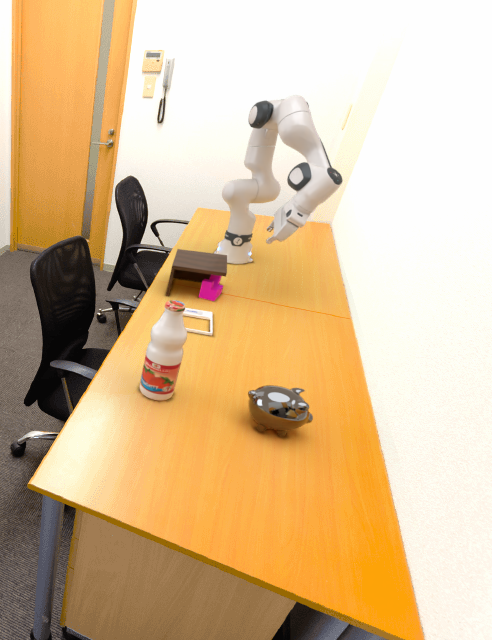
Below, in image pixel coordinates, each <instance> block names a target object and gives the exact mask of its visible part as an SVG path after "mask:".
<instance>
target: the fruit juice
mask: <svg viewBox="0 0 492 640" xmlns="http://www.w3.org/2000/svg"><path fill="white" fill-rule="evenodd" d="M185 308H186V304H185V303H184V302H182V301H180V300H175V299H172V300H171V299H170V300H167V301H166V302H165V304H164V311H163V313H162V314H161V316H160V317H159V319H158V320H157V321H156V322H155V323H154V324H153V325H152V328H151V329H150V341H149V342H148V344H147V347H146V351H145V356H144V360H143V366H142V371H141V376H140V381H139V391H140V393H141V394H142V395H143V396H144V397H146V398H148V399H151V400H153V401H154V400H155V401H167V400H169V399H171V398H172V396H173V395H174V393H175V388H176V385H177V382H178V376H179V374H180V369H181V365H182V361H183V357H184V345H185V344H186V341H187V339H188V331H187V330H186V328H187V327H186V326H185V321H184V315H183V312H184V310H185Z"/></svg>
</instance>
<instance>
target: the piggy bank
mask: <svg viewBox="0 0 492 640" xmlns="http://www.w3.org/2000/svg"><path fill="white" fill-rule="evenodd" d="M304 392H306V390H305V389H303V388H301V387H292V388H287V387H285V386H280V385H275V384H267V385H262V386H258V387H257V388H256V389H252V390H248V391H247V395H248V412H249V414H250V416H251V418H252V419H253V420H254V422H256V424H257V425H256V430H257V431H258V432H260V433H263V432H265V431H267V429H270V430H274V431H275V432H276V434H277V435H278V436H279V437H285V436H286V434H287V433H288V432H289V431H294V430H297V429H300V428H302V427H304V426H305V425H308V424H311V423H312V422H313V420H314V416H313V413H311V412H310V404H309V403H308V402H306V400H305V399H304V397H303V396H302V395H301V393H304Z"/></svg>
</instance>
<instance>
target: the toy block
mask: <svg viewBox="0 0 492 640" xmlns="http://www.w3.org/2000/svg"><path fill="white" fill-rule="evenodd" d="M221 280H222V277H221V276H218V275H211V276H210V279H209V280H208V279H204V280H203V281H202V282H201V285H200V290H199V292H198V293H199V294H198V299H199V298H200V299H202V300H203V299H204V300H208V301H211V302H215V301H216V300H217V299H218V298H219V297H220V295H221V294H222V292H223V289H224V284H221ZM219 283H220V284H219Z"/></svg>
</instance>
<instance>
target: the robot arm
mask: <svg viewBox="0 0 492 640" xmlns="http://www.w3.org/2000/svg"><path fill="white" fill-rule="evenodd" d="M310 109H311V108H310V105H309V103H308V101H306V99H305V98H304V97H303V95H298V94H295V95H294V94H293V95H289V96H288V97H286V98H281V99H272V100H261V101H258V102H255V104H254V105H252V107H251V109H250V111H249V114H248V125H249V126H250V127H251V128H252V130H251V133H250V136H249V139H248V143H247V147H246V151H245V155H244V160H243V164H244V167H245V168H246V169H248V170H249V171H250V172H251V178H238V179H234V180H229V181H227V182H226V183H225V184H224V186H223V187H222V190H221V196H222V197H221V198H222V200H223V201H224V202H225V203H226V204H227V205H228V208H229V212H230V213H229V214H230V215H229V221H228V224H227V229H226V230H225V232H224V236H223V239H222V240H221V241H219V242H218V243H217V248H216V250H214V252H213V253H214V254H222V255H227V264H234V265H242V264H248V263H253V261H254V259H253V258H252V257H251V255H252V250H253V244H252V243H251V241H252V238H253V234H254V233H253V231H254V228H255V224H256V221H257V217H256V215H255V213H253V212H252V211H250V210H249V209H250V208H249V207H250V205H251V204H266V203H270V202H274V201H276V200H277V198H278V197H279V195H280V194H281V190H282V189H281V183H280V181H278V180H277V178H275V175H274V173H273V160H274V154H275V149H276V146H277V141H278V136H279V138H280V140H281V142H282V143H283V144H284V145H285V146H287V147H289V148H291V149H293V150H295V151H297V153H299V154H301V155H302V156H303V157H304V158H305V160H306V162H305V161H304V162H300V163H298V164H296V165H295V166H294V167H293V168H292V169H291V170H290V171H289V173H288V175H287V179H286V181H287V185H288V186H289V187H290V188H291V189H292V190H294V191H295V192H296V194H295V195H293V196H292V197H291V198H290V199H289V200H288V201H286V202H285V203H283V205H282V206H280V207H279V208H278V209H277V210H276V211H275V212H274V214H273V220H272V221H271V222H270V224H269V225H268V226H266V231H267V232H268V233H271V232H272V231H273V234H272V235H271V236H270V237H269V236H268V238H267V239H266V240H265V243H266V244H267V245H270V244H272V243H273V242H275V241H278V242H280V243H282V242H284V241H286V240H287V239H289V238H290V237H291V236H292V235H294V233H296V232H297V231H298V230H299V228H303V227H304V226H305V225H306V224H307V221H308V220H309V217H310V216H311V214H312V213H314V211H316V209H317V208H318V206H320V205H321V204H323V203H325V202H326V201H327V200H328V199H329V198H330V197H332V196H333V195H334V194H335V193H336V192H337V191H338V190H339V188H340V187H341V186H342V184H343V180H344V179H343V176H342V174H341V173H340V172H339V171H338V170H337V169H335V168H334V167H333V166H332V164H331V162H330V159H329V156H328V154H327V150H326V148H325V145H324V142H323V141H322V139H321V137H320V135H319V134H318V131H317V129H316V126H315V124H314V120H313V117H312V112H311V110H310Z"/></svg>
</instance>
